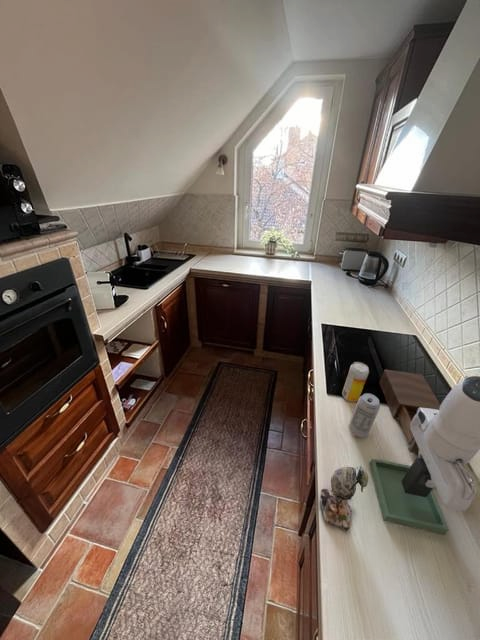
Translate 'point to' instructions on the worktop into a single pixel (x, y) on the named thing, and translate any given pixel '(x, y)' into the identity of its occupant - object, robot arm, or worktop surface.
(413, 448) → the drawer
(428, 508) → the tray
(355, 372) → the beer can
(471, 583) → the worktop surface
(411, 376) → the cabinet
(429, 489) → the dark grey block
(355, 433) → the energy drink can
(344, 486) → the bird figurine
